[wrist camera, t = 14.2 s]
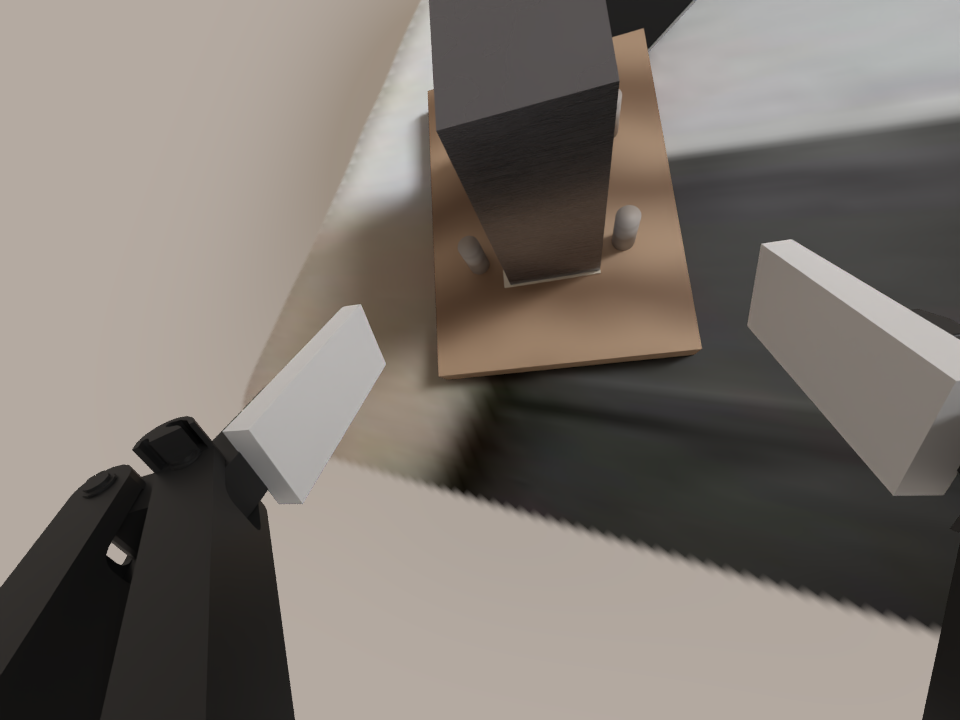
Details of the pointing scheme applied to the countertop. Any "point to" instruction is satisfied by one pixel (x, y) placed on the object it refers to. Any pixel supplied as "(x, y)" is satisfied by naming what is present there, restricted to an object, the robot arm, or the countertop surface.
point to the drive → (529, 125)
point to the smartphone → (645, 17)
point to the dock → (580, 297)
